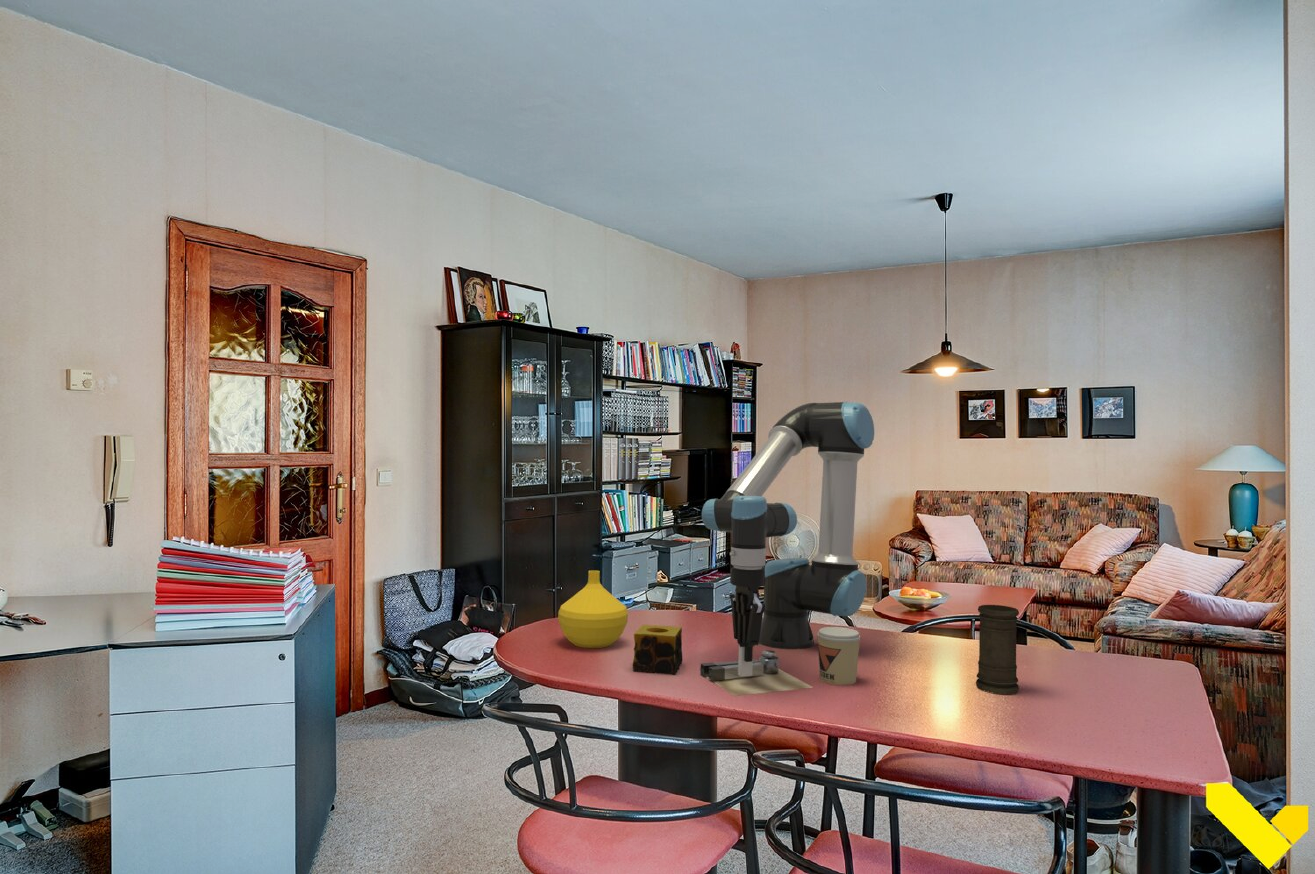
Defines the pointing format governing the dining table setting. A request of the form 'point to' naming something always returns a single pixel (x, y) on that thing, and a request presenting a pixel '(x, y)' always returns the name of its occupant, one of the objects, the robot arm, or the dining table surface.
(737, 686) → the board
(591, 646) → the vase
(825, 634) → the coffee cup
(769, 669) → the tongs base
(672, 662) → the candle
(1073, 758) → the dining table surface
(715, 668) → the bar
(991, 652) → the container
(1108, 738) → the dining table surface
